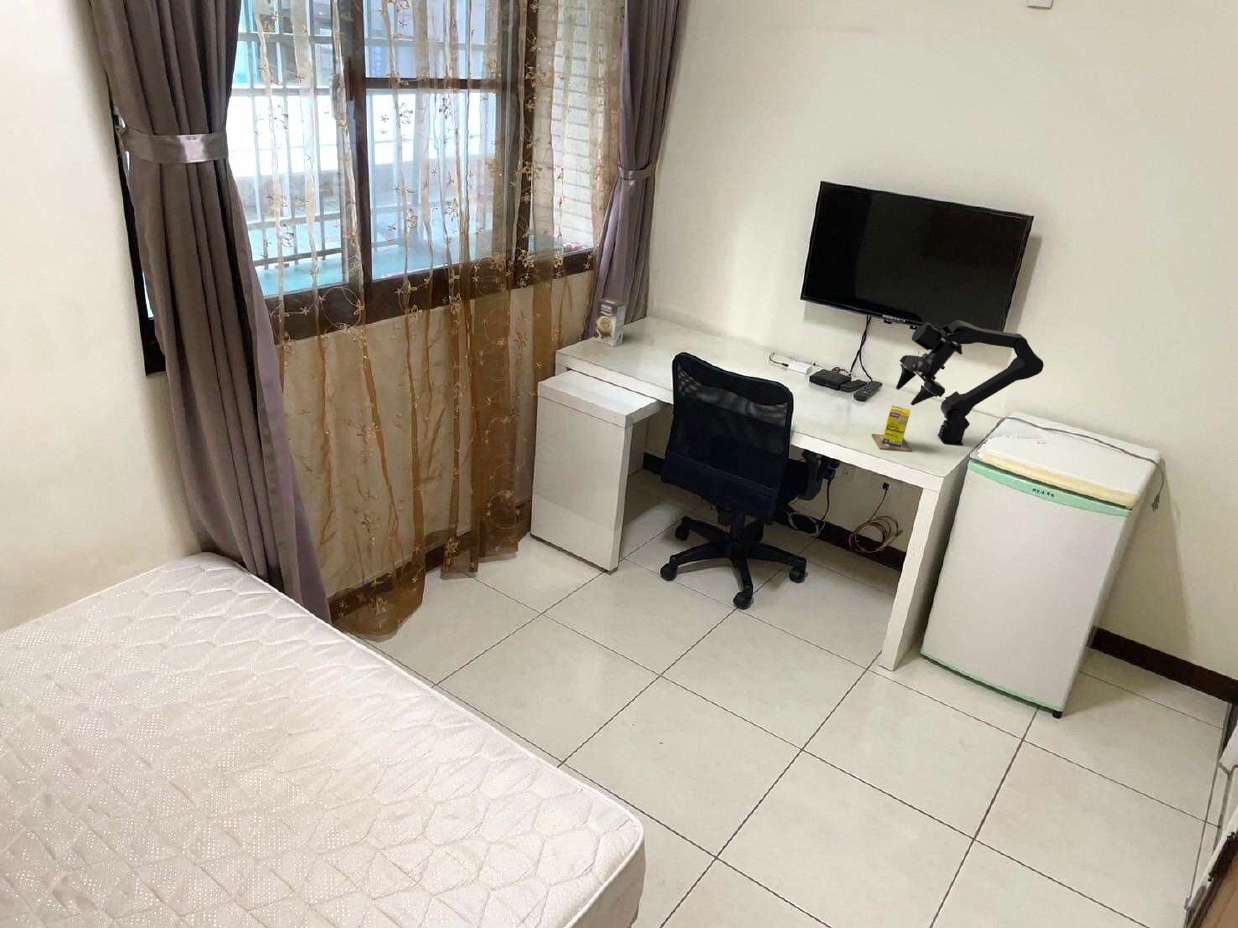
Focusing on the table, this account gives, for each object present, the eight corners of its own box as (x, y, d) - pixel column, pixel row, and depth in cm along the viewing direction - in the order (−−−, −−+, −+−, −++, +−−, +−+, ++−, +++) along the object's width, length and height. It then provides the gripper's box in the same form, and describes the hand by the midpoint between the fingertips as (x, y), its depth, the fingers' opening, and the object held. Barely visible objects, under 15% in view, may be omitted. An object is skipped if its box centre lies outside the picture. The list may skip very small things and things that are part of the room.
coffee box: (593, 340, 339) (596, 299, 332) (603, 336, 344) (606, 296, 336) (613, 347, 335) (616, 305, 327) (622, 343, 339) (626, 302, 332)
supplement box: (881, 443, 277) (889, 411, 272) (883, 436, 282) (891, 404, 277) (900, 447, 275) (909, 415, 270) (902, 440, 281) (910, 408, 276)
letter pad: (902, 438, 284) (902, 436, 283) (911, 452, 275) (911, 450, 275) (871, 435, 283) (871, 433, 283) (879, 449, 274) (879, 447, 274)
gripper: (905, 333, 276) (873, 372, 282) (937, 363, 262) (902, 404, 268) (928, 346, 281) (896, 384, 288) (960, 376, 267) (925, 416, 273)
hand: (904, 396), depth 279 cm, fingers open, 9 cm apart
